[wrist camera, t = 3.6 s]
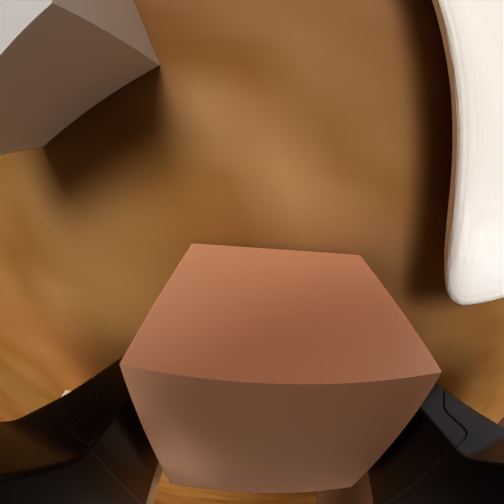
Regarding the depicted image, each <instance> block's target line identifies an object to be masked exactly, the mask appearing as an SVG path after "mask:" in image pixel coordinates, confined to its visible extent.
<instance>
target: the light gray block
mask: <svg viewBox="0 0 504 504" xmlns="http://www.w3.org/2000/svg"><path fill="white" fill-rule="evenodd" d="M158 66H160V64H159V62H158V59H157V57H156V54H155V52H154V49H153V47H152V44H151V42H150V40H149V37H148V35H147V32H146V30H145V27H144V25H143V22H142V20H141V17H140V15H139V12H138V10H137V7H136V5H135V2H134V0H0V155H1V154H6V153H11V152H17V151H22V150H28V149H35V148H41V147H44V146H45V145H46V144H47V143H48V142H49V141H50V140H52V139H53V138H54V137H55V136H56V135H57V134H59V133H60V132H61V131H62V130H63V129H65V128H66V127H67V126H68V125H69V124H71V123H72V122H73V121H74V120H76V119H77V118H78V117H80V116H81V115H82V114H84V113H85V112H86V111H88V110H89V109H90V108H92V107H93V106H95V105H96V104H97V103H99V102H100V101H102V100H103V99H105V98H106V97H108V96H109V95H111V94H112V93H114V92H115V91H117V90H118V89H120V88H121V87H123V86H125V85H126V84H128V83H130V82H131V81H133V80H135V79H136V78H138V77H140V76H141V75H143V74H145V73H147V72H149V71H150V70H152V69H154V68H156V67H158Z"/></svg>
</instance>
